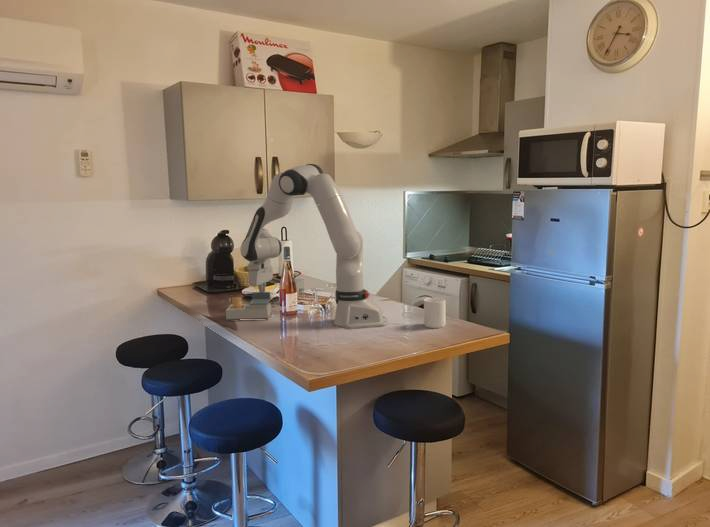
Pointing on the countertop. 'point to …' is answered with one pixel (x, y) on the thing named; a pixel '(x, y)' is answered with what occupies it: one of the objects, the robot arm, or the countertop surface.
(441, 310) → the mug
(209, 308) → the countertop surface
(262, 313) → the housing
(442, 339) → the countertop surface
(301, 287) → the ink box
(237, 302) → the tan upright cylinder
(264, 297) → the cover
